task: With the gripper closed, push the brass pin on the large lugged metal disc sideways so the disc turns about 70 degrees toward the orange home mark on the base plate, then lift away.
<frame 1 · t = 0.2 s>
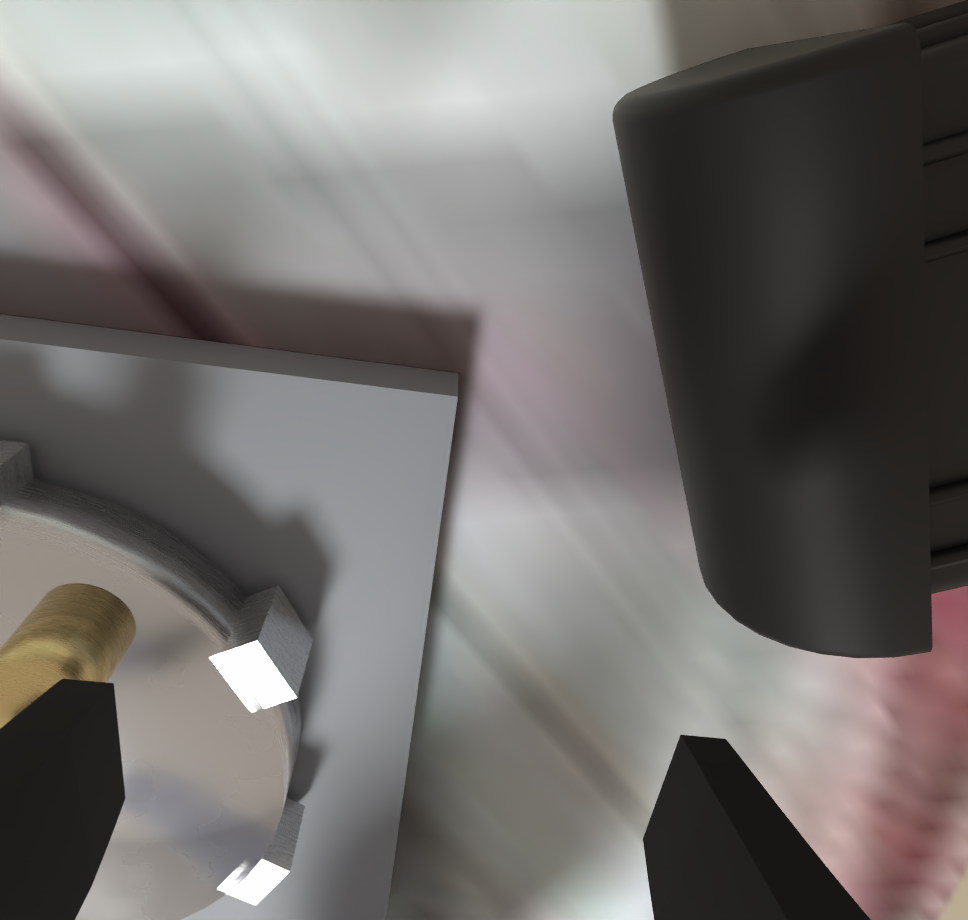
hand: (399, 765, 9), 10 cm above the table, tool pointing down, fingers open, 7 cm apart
base plate: (66, 657, 21), on the table
end cap: (777, 284, 17), on the table
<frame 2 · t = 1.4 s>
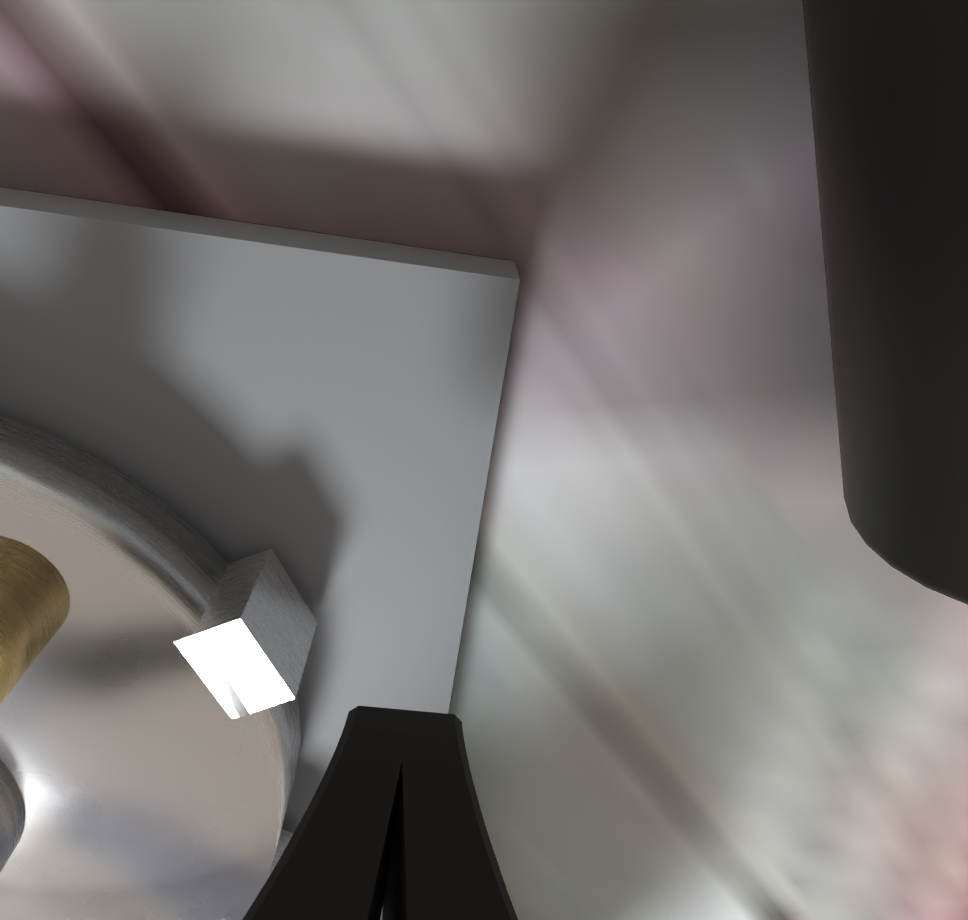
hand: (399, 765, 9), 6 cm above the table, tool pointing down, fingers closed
base plate: (0, 648, 16), on the table
end cap: (947, 138, 12), on the table
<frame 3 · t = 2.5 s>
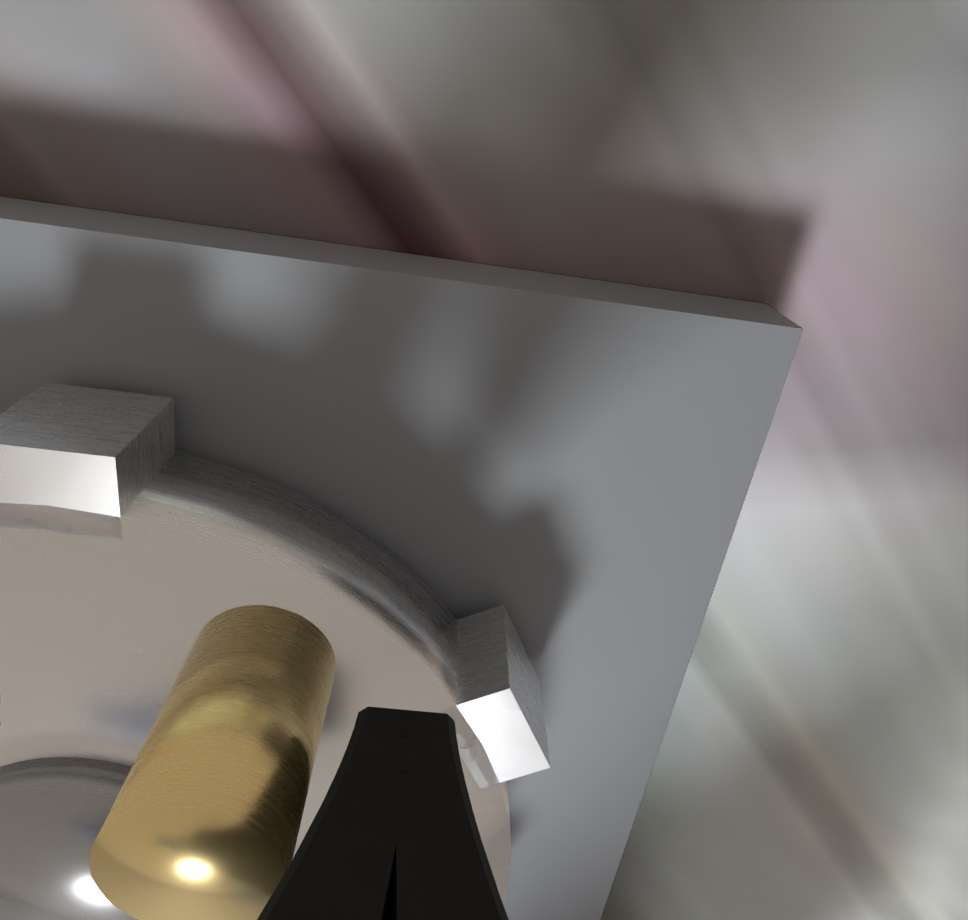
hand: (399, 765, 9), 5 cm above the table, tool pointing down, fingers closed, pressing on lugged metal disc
base plate: (177, 697, 16), on the table
lugged metal disc: (80, 898, 12), point 4 cm above the table, hinge at 0.0°, touching gripper
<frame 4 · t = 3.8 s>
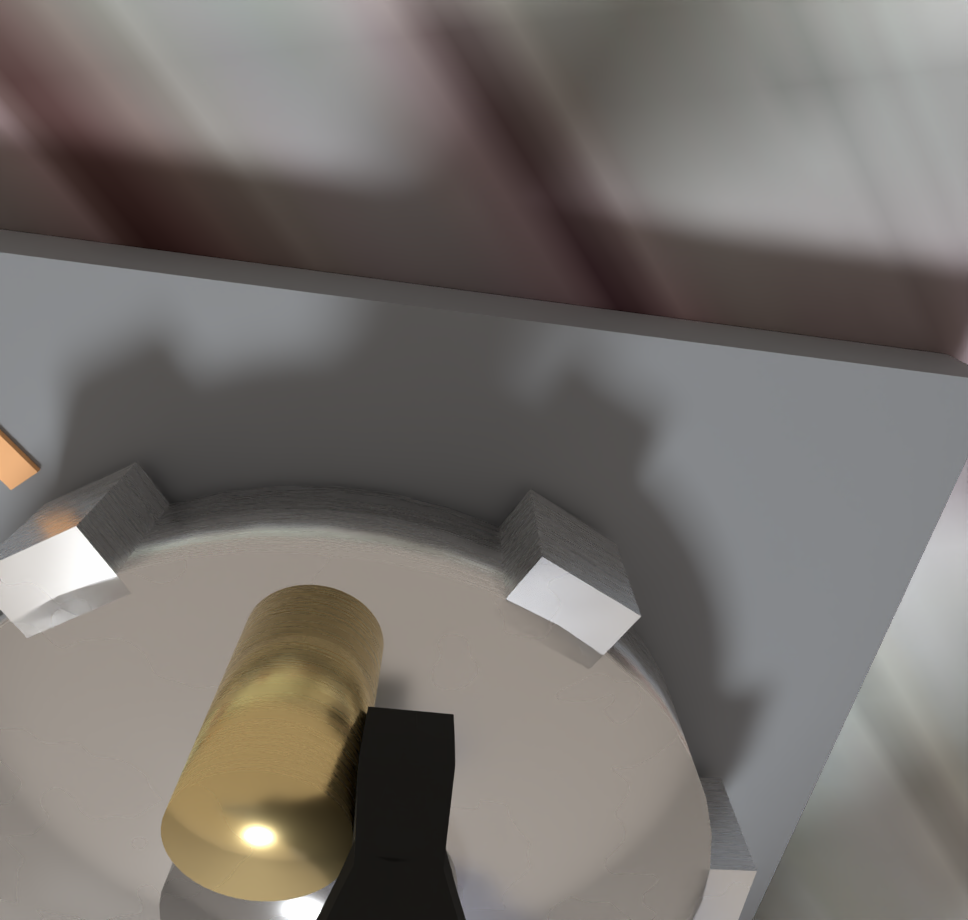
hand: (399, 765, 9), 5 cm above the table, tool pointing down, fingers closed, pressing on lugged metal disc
base plate: (347, 725, 16), on the table
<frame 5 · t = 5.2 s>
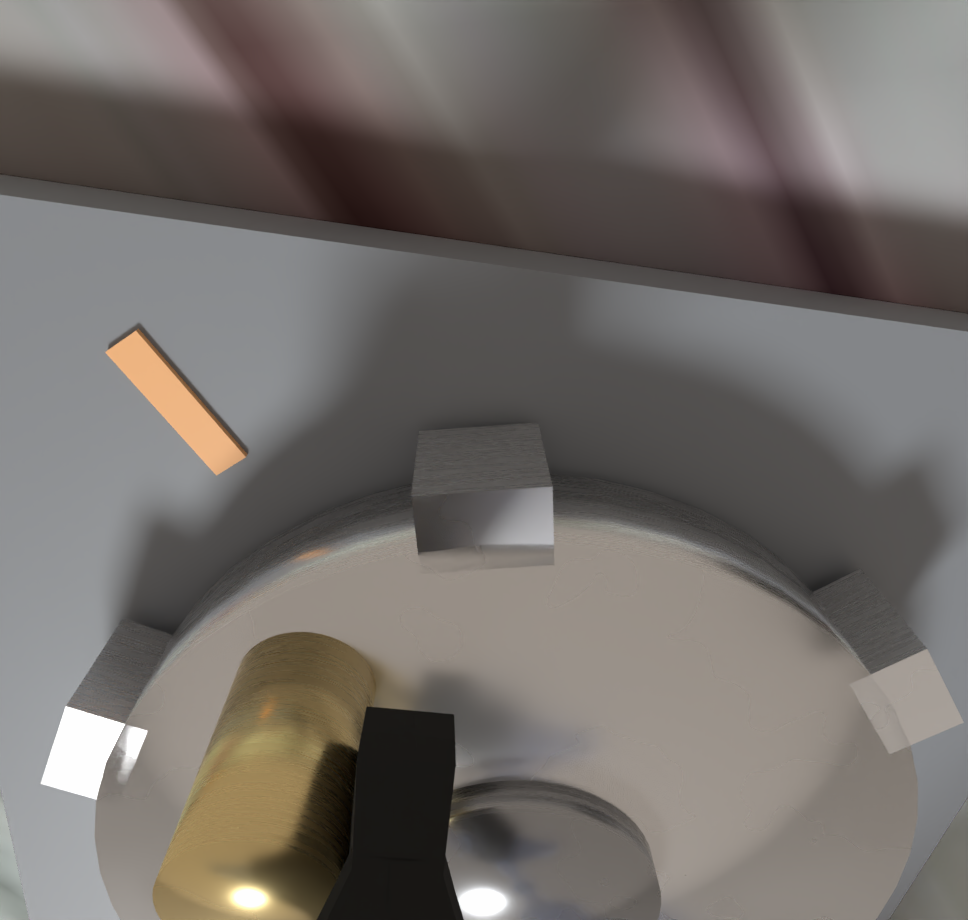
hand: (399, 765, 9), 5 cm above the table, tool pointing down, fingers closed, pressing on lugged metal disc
base plate: (500, 714, 16), on the table
lugged metal disc: (512, 914, 12), point 4 cm above the table, hinge at 71.8°, touching gripper
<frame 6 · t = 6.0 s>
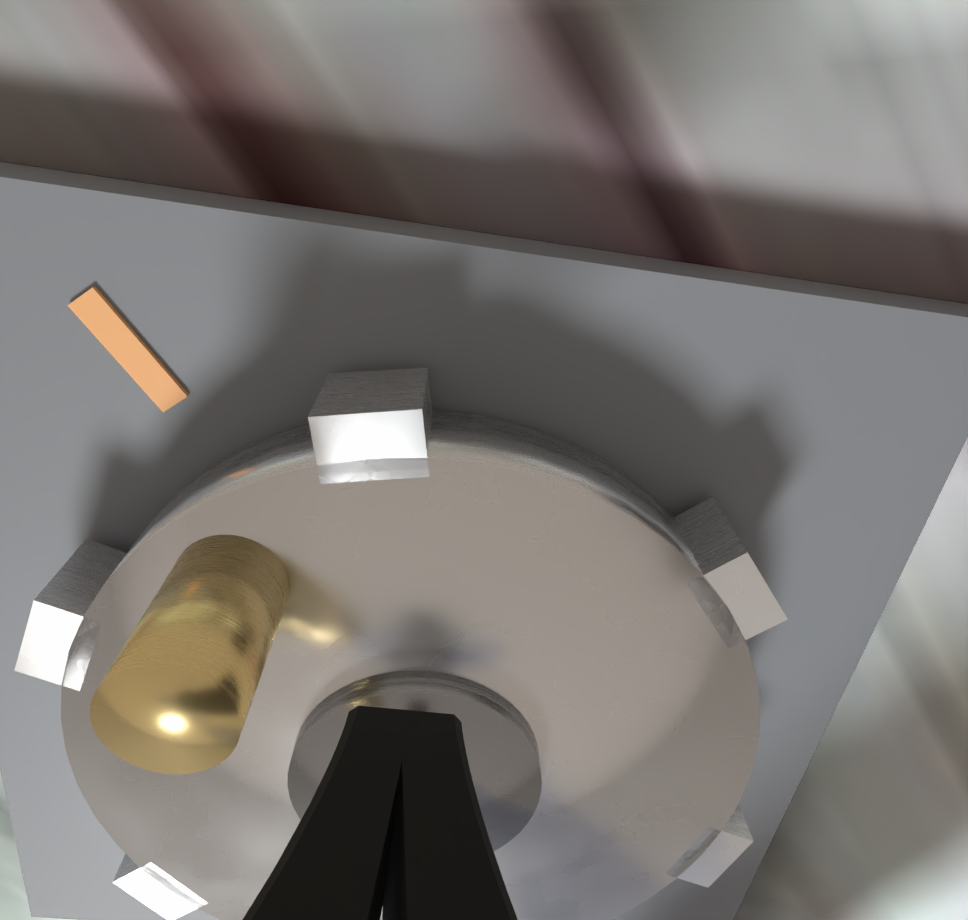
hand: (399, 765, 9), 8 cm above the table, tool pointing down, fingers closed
base plate: (426, 639, 18), on the table
lugged metal disc: (415, 788, 14), point 4 cm above the table, hinge at 72.0°
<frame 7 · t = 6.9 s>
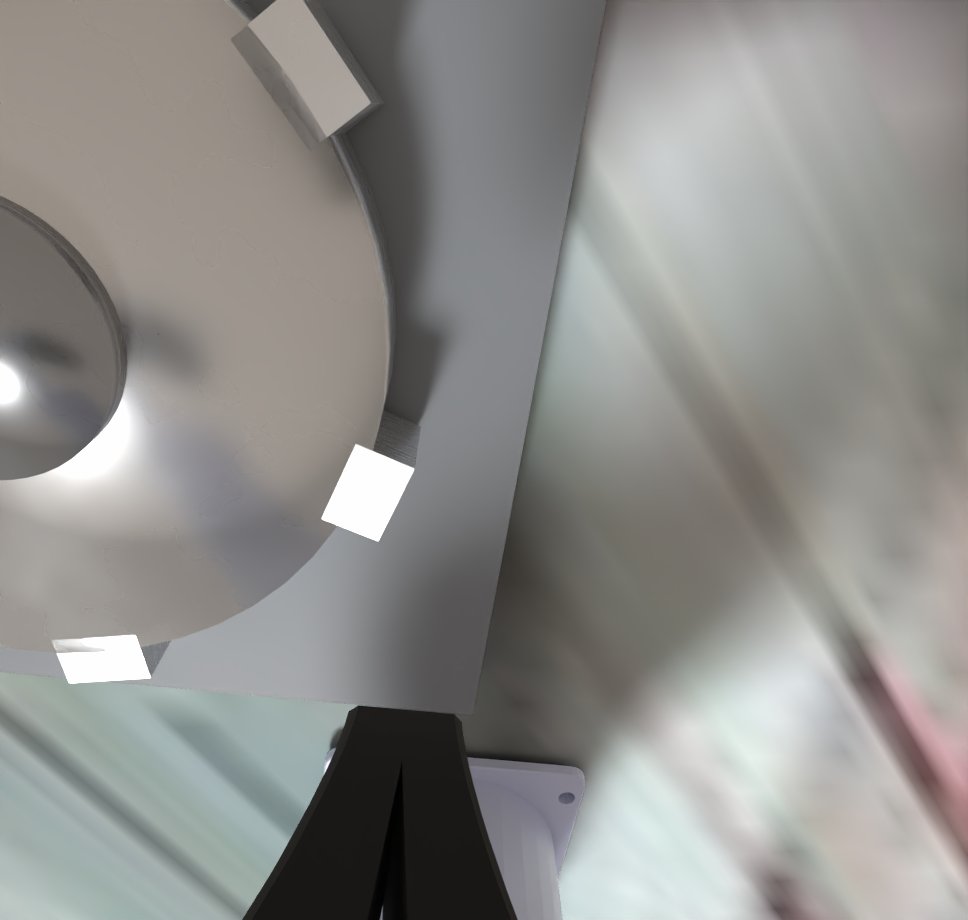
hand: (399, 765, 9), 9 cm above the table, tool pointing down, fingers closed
base plate: (81, 285, 16), on the table
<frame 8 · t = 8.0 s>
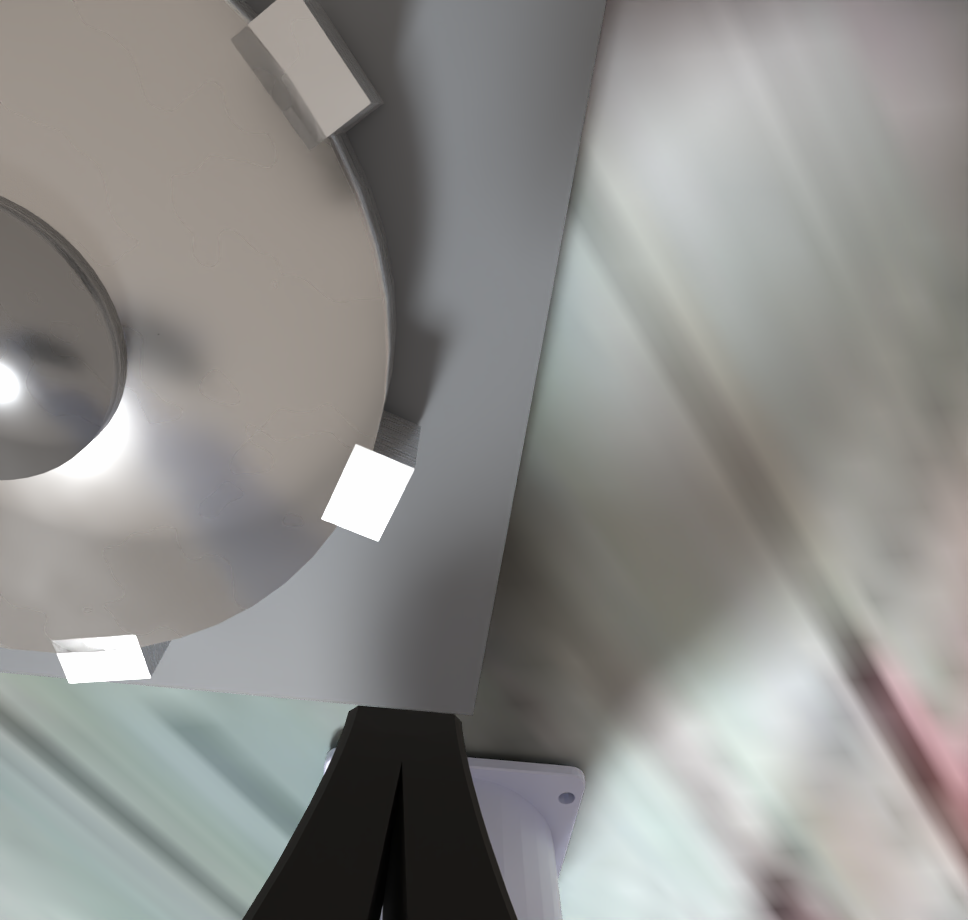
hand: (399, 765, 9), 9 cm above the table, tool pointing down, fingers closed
base plate: (81, 285, 16), on the table
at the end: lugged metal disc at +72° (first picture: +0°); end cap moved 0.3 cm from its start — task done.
